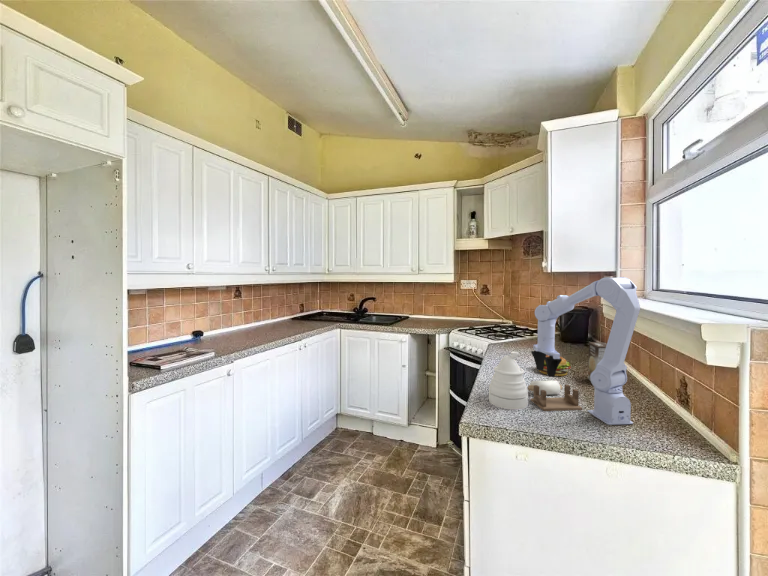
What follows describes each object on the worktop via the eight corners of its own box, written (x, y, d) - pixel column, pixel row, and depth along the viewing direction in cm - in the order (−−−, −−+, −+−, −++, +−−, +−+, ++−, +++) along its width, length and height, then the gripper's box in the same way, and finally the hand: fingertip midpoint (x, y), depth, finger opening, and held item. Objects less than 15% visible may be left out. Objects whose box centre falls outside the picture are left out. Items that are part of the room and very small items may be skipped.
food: (578, 374, 145) (578, 357, 145) (556, 379, 139) (556, 360, 139) (550, 366, 158) (551, 350, 157) (529, 370, 152) (530, 353, 151)
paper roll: (564, 395, 120) (564, 382, 121) (532, 396, 120) (532, 383, 120) (556, 392, 125) (556, 378, 126) (526, 392, 125) (525, 379, 125)
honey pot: (527, 398, 119) (528, 349, 118) (528, 412, 107) (529, 358, 106) (490, 393, 124) (490, 346, 123) (487, 406, 112) (487, 354, 111)
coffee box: (587, 378, 139) (588, 341, 138) (603, 379, 138) (604, 342, 137) (596, 386, 130) (597, 346, 129) (614, 387, 129) (615, 347, 128)
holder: (582, 410, 108) (582, 392, 108) (544, 411, 108) (544, 393, 107) (565, 399, 117) (566, 382, 117) (530, 400, 117) (530, 383, 116)
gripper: (526, 333, 128) (525, 367, 129) (546, 341, 114) (545, 379, 115) (543, 333, 129) (542, 367, 130) (565, 341, 114) (565, 379, 115)
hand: (545, 373), depth 122 cm, fingers open, 7 cm apart
